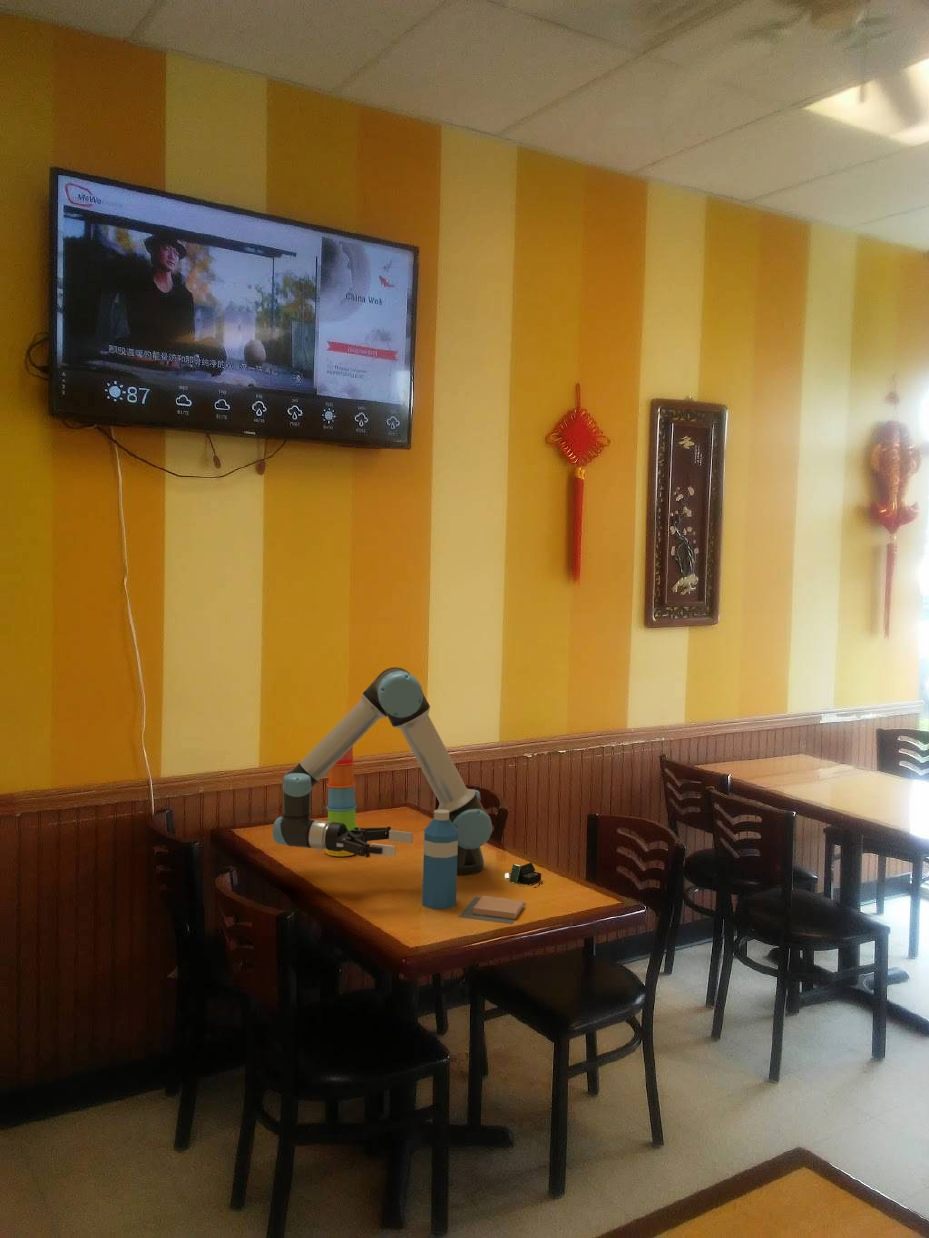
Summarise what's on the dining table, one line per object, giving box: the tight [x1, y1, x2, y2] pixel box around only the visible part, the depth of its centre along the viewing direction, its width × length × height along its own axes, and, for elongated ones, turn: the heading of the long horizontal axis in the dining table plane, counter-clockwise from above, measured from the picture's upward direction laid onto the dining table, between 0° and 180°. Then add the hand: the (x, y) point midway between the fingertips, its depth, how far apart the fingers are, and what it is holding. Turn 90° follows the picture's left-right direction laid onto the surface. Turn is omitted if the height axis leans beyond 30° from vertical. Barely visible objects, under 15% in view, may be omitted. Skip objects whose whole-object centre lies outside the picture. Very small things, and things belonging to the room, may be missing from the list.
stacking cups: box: [325, 745, 358, 857], centre depth 310 cm, size 10×10×35 cm
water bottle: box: [421, 808, 458, 910], centre depth 267 cm, size 9×9×25 cm
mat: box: [458, 896, 527, 925], centre depth 264 cm, size 16×14×1 cm
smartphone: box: [504, 862, 544, 889], centre depth 290 cm, size 15×15×6 cm
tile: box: [473, 895, 525, 919], centre depth 263 cm, size 10×2×11 cm
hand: (404, 844), depth 269 cm, fingers open, 13 cm apart
